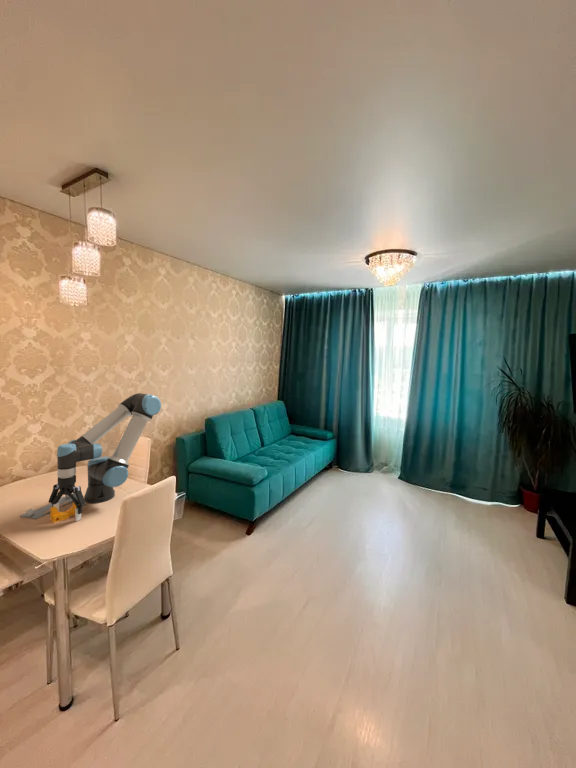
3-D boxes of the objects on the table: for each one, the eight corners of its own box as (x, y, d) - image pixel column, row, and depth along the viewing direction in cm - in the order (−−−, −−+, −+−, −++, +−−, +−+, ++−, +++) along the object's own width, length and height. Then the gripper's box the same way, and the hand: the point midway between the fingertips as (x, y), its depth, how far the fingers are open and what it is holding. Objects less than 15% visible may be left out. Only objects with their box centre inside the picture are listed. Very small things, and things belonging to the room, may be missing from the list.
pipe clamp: (53, 523, 155) (53, 510, 154) (50, 520, 157) (50, 507, 157) (81, 514, 164) (81, 502, 164) (77, 511, 167) (77, 499, 166)
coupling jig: (77, 499, 181) (77, 492, 181) (36, 519, 158) (36, 511, 157) (63, 497, 183) (63, 490, 183) (20, 516, 160) (20, 509, 159)
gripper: (94, 475, 159) (94, 517, 160) (53, 470, 164) (53, 511, 165) (81, 481, 152) (81, 525, 153) (39, 475, 157) (39, 518, 158)
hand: (67, 518), depth 159 cm, fingers open, 12 cm apart
